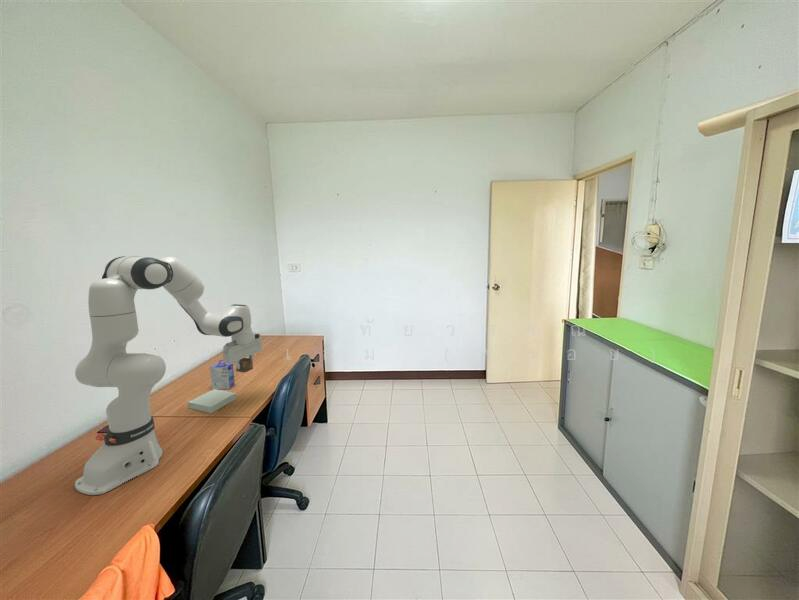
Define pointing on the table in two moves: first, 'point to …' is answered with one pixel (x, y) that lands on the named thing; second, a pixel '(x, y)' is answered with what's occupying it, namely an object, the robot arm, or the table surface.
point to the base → (212, 400)
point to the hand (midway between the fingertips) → (244, 366)
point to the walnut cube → (245, 365)
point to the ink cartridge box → (222, 376)
